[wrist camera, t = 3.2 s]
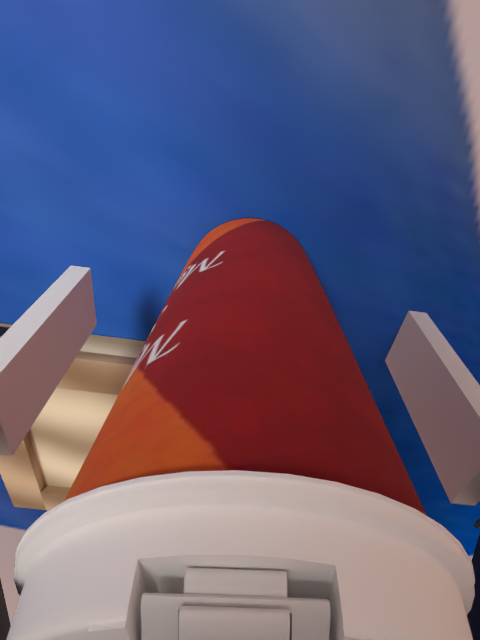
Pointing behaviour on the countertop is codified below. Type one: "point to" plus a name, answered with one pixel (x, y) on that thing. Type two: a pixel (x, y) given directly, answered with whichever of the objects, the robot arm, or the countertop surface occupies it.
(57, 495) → the square tray
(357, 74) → the countertop surface
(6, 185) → the countertop surface
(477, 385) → the robot arm
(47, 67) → the countertop surface
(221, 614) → the coffee cup
